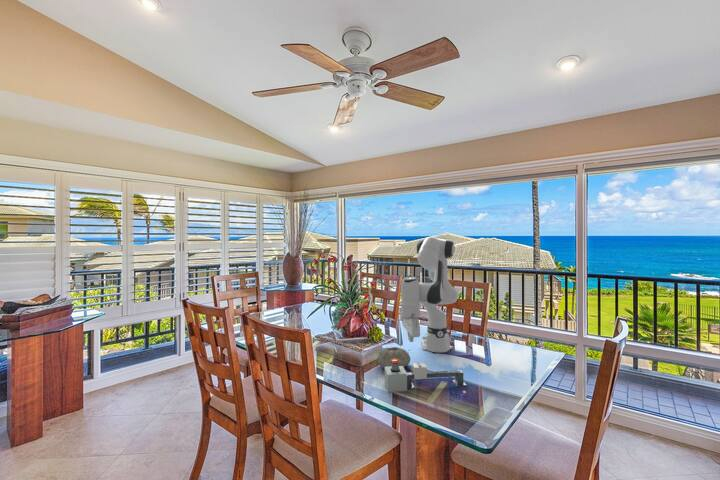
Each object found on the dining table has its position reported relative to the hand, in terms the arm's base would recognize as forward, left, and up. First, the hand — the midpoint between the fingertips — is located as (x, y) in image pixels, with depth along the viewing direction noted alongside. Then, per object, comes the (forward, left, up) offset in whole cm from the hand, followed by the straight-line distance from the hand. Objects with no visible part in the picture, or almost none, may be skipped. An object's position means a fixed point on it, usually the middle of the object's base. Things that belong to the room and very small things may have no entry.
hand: (410, 341), depth 153 cm
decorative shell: (-24, -4, -22) cm, 32 cm away
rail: (-1, +11, -22) cm, 24 cm away
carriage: (-1, +4, -17) cm, 18 cm away
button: (-1, -7, -16) cm, 17 cm away
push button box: (-1, -7, -22) cm, 23 cm away
